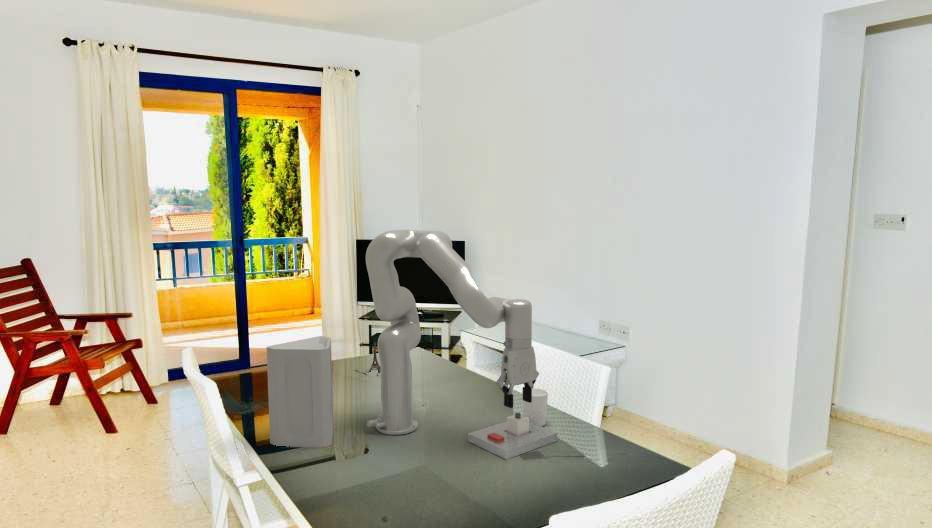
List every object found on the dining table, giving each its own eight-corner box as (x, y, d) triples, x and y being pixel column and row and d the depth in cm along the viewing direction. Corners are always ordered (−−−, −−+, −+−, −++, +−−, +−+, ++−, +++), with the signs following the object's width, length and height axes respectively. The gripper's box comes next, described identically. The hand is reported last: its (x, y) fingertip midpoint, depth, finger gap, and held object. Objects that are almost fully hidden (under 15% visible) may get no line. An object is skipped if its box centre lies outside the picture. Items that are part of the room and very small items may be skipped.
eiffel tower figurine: (353, 371, 247) (352, 339, 246) (373, 367, 254) (373, 336, 253) (374, 379, 236) (374, 345, 235) (395, 374, 243) (394, 341, 242)
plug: (517, 442, 170) (517, 417, 169) (506, 437, 174) (506, 413, 173) (528, 438, 173) (529, 413, 172) (518, 433, 176) (518, 409, 176)
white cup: (546, 428, 181) (547, 396, 181) (520, 427, 183) (520, 395, 182) (548, 419, 189) (548, 388, 188) (523, 418, 191) (523, 387, 190)
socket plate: (506, 459, 160) (506, 447, 159) (468, 441, 172) (468, 430, 172) (557, 440, 172) (557, 430, 172) (518, 425, 185) (518, 415, 184)
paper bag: (298, 456, 162) (295, 355, 159) (268, 442, 172) (265, 346, 169) (354, 436, 176) (352, 342, 174) (324, 424, 186) (322, 335, 183)
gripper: (504, 350, 162) (504, 414, 164) (549, 340, 173) (548, 401, 175) (486, 345, 168) (486, 407, 170) (530, 336, 179) (530, 394, 181)
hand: (518, 403), depth 172 cm, fingers open, 6 cm apart
